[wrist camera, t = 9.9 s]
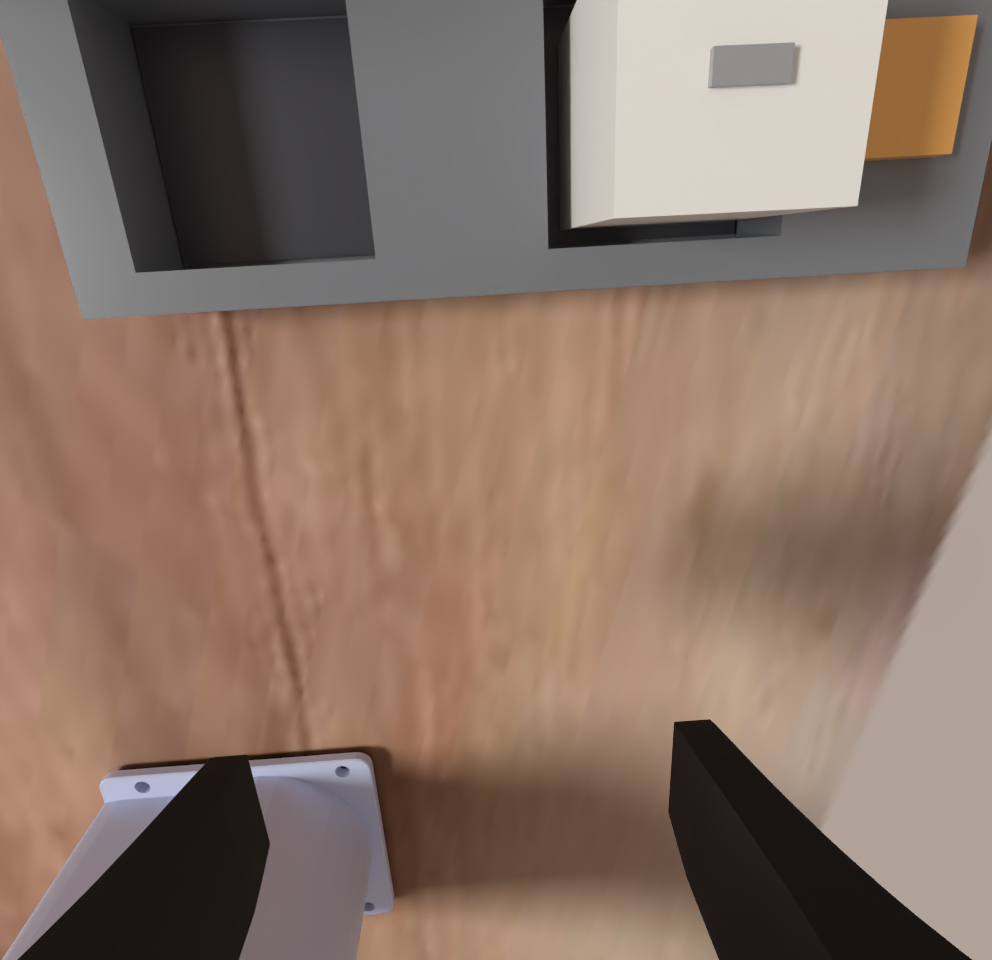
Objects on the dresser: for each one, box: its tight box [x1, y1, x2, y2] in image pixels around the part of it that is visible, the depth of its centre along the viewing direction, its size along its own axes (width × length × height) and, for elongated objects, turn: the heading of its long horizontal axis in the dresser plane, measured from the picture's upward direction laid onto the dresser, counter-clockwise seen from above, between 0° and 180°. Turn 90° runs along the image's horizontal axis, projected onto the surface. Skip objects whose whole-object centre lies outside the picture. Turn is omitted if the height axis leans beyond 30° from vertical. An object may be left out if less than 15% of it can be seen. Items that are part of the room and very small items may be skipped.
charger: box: [558, 0, 888, 231], centre depth 12 cm, size 4×4×6 cm
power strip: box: [0, 0, 992, 319], centre depth 14 cm, size 20×7×4 cm, turn 93°
